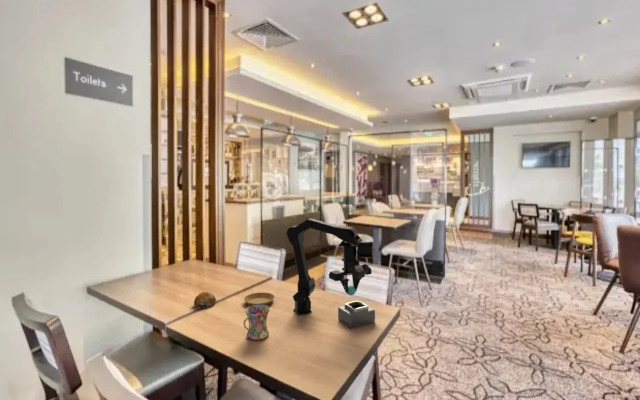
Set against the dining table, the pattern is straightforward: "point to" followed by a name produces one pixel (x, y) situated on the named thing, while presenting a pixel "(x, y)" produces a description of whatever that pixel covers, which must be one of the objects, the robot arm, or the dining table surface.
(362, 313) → the open metal box
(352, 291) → the bead
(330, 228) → the robot arm
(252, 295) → the plant saucer
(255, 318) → the mug
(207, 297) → the brown rounded dome
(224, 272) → the dining table surface
